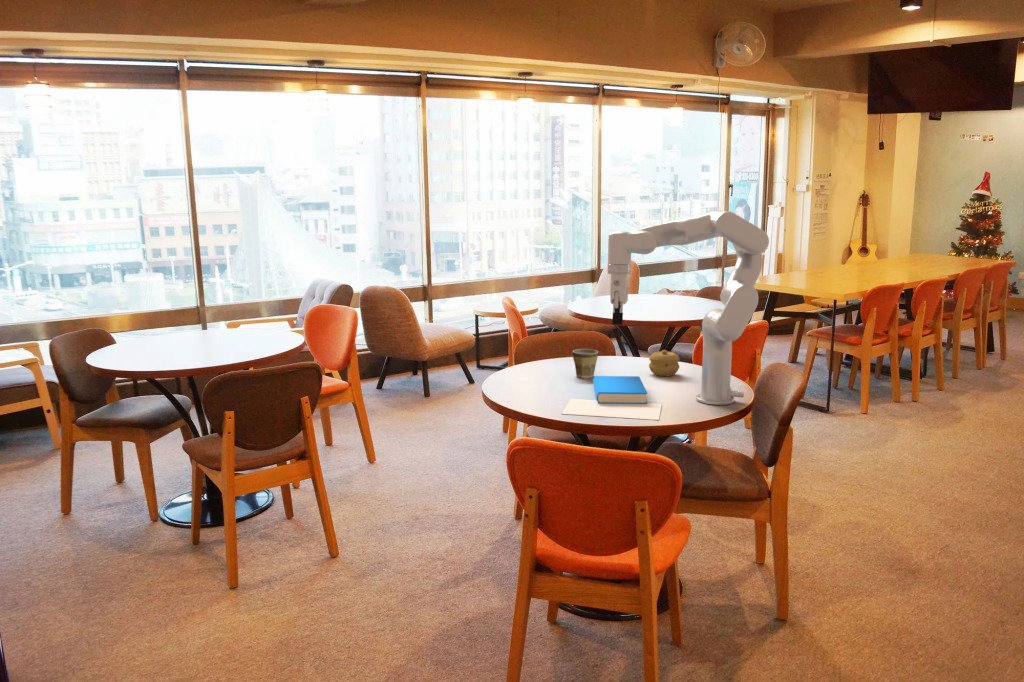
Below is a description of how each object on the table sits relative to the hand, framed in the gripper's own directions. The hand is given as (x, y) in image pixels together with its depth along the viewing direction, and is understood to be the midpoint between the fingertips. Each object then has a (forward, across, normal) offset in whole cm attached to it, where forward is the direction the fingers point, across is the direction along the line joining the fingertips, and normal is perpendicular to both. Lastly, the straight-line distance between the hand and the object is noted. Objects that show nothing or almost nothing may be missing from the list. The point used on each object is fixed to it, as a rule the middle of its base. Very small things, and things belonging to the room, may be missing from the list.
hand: (617, 324), depth 266 cm
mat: (+27, -8, 0) cm, 28 cm away
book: (+27, +11, 0) cm, 30 cm away
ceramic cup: (+28, +38, +16) cm, 50 cm away
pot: (+27, +46, -14) cm, 56 cm away
